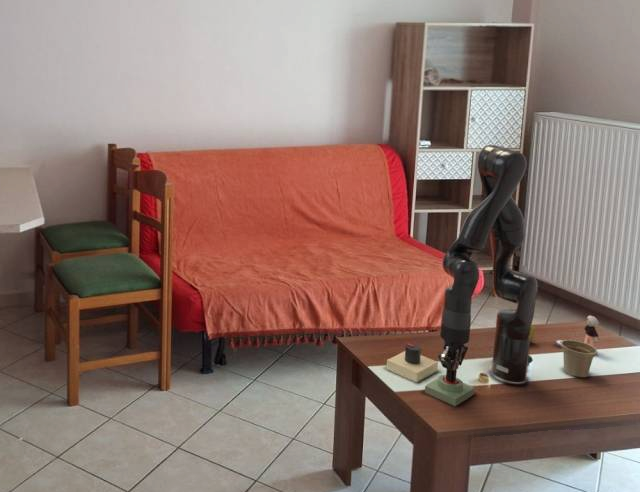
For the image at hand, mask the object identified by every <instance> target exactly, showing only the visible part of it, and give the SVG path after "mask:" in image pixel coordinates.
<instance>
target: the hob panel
mask: <svg viewBox="0 0 640 492" xmlns="http://www.w3.org/2000/svg"><path fill="white" fill-rule="evenodd" d="M438 365H439V362H438V361H437V360H435V359H432V358H429V357H426V356H424V355H422V354H421V357H420V363H419V364H411V363H408V362H406V361H405V350H404V351H402V352H400V353H398V354H396V355H394V356H392V357H390V358H388V359H387V360H386V368H385V369H386V370H387V371H390V372H393V373H395V374H396V375H398V376H401V377H403V378H405V379H408V380H410V381H413V382H414V383H418V382H420V381H422V380H424V379H425V378H427V377H429V376H431V375H433V374H435V373H436V372H438Z"/></svg>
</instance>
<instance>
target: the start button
mask: <svg viewBox="0 0 640 492" xmlns="http://www.w3.org/2000/svg"><path fill="white" fill-rule="evenodd" d="M444 382H446V383H449V384H457V380H456V381H454V382H450V381H447V380H446V377H445V378H444Z"/></svg>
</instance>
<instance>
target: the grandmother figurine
mask: <svg viewBox="0 0 640 492" xmlns="http://www.w3.org/2000/svg"><path fill="white" fill-rule="evenodd" d="M586 319H587V320H586V325H585V327H584V330H583V334H585V337H584V342H583V343H586V344H589V345H591V346H593V347H594V348H595V343H599V341H600V340H599V337H600V335H599V334H598V331H597V329H596V326H597V325H599V324H600V322H599V320H598V318H597V317H595V316H593V315H588V316H587V317H586Z"/></svg>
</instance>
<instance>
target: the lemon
mask: <svg viewBox="0 0 640 492" xmlns="http://www.w3.org/2000/svg"><path fill="white" fill-rule="evenodd" d="M534 337H535V328H534V325H533V324H532V326H531V335H530V342H531V341H532V340H533V339H534Z"/></svg>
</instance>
